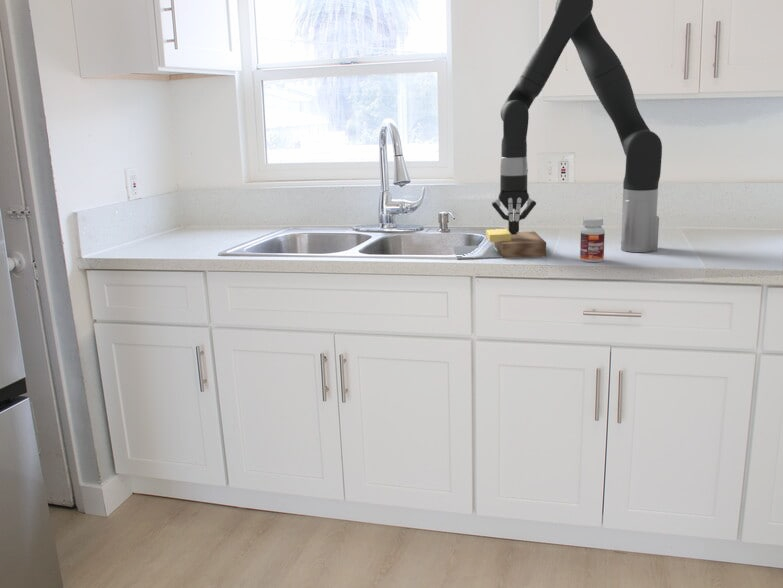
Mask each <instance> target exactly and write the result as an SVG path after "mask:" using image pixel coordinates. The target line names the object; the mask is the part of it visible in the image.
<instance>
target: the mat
mask: <svg viewBox="0 0 783 588" xmlns="http://www.w3.org/2000/svg"><path fill="white" fill-rule="evenodd" d="M490 245H491V246H490V247H489V248H488V250H487V252H486V253H485V254H484V255H483V256H481V257H475V258H473V257H462V256H456V255H463V256H465V255H464V254H468V253H471V252H472V251H474V250H475V249H476V248H478V247H479V246H480V245H458V246H457V245H455V246H452V248H453V251H454V253H455V256H456V259H457V260H478V259H479V260H480V259H501V258H502V256H501V255H500V253H499V252H498V250H497V249H496V247H495V245H493V244H490Z"/></svg>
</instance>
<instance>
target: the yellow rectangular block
mask: <svg viewBox="0 0 783 588" xmlns="http://www.w3.org/2000/svg"><path fill="white" fill-rule="evenodd" d="M485 238H486V239H487V240H488V242H490V243H495V242H501V241H511V233H510V232H509V230H508V228H499V229H497V228H495V229H485Z"/></svg>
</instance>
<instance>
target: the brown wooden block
mask: <svg viewBox="0 0 783 588" xmlns="http://www.w3.org/2000/svg"><path fill="white" fill-rule="evenodd" d="M494 247H495V249H496V250H497V252H498V253H499V255H500V256H501V258H502V259H510V258H515V259H516V258H536V257H537V258H538V257H540V258H541V257H547V242H546V240H544V238H542V237H541V236H540V235H539V234H538V233H537V232H536V231H519V232H517V234H514V235H511V241H501V242H494Z"/></svg>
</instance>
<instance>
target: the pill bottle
mask: <svg viewBox="0 0 783 588" xmlns="http://www.w3.org/2000/svg"><path fill="white" fill-rule="evenodd" d="M603 225H604V218H603V217H599V216H598V217H596V216H588V217H584V218H583V219H582V226H584V227H582V228H581V229H580V244H579V245H580V250H579V251H580V252H579V259H580V261H582V262H586V263H600V262H602V261H604V260H605V258H604V257H605V235H606V232H605V229H604V228H603Z"/></svg>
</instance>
